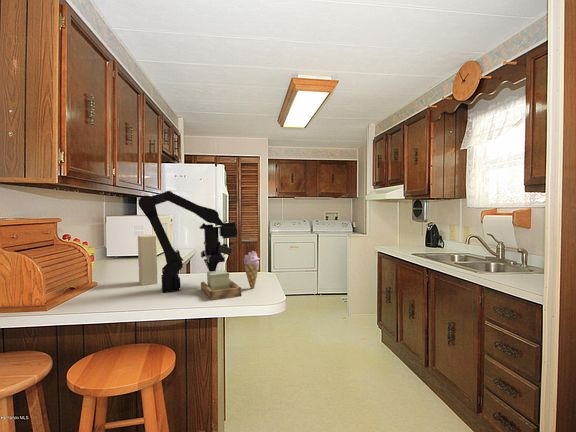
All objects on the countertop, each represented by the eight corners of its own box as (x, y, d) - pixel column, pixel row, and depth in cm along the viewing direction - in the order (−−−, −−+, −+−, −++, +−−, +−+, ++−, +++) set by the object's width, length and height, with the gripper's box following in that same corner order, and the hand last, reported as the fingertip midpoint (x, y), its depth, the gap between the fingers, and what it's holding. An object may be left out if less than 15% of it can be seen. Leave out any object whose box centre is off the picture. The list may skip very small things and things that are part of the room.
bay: (210, 300, 124) (210, 291, 124) (201, 289, 141) (200, 281, 141) (241, 295, 129) (241, 287, 129) (228, 285, 145) (228, 278, 145)
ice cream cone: (263, 287, 142) (262, 250, 141) (257, 290, 136) (256, 252, 135) (248, 286, 144) (247, 249, 143) (241, 289, 138) (240, 252, 137)
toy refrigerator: (159, 283, 153) (157, 235, 152) (141, 285, 149) (139, 236, 149) (156, 280, 160) (154, 234, 159) (139, 282, 156) (137, 235, 155)
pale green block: (211, 290, 133) (210, 275, 133) (207, 286, 140) (206, 271, 140) (229, 288, 136) (229, 273, 136) (225, 284, 143) (224, 270, 142)
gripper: (236, 240, 140) (237, 278, 141) (225, 236, 157) (226, 270, 158) (208, 242, 136) (210, 281, 136) (200, 237, 153) (201, 273, 153)
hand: (212, 276), depth 146 cm, fingers closed
